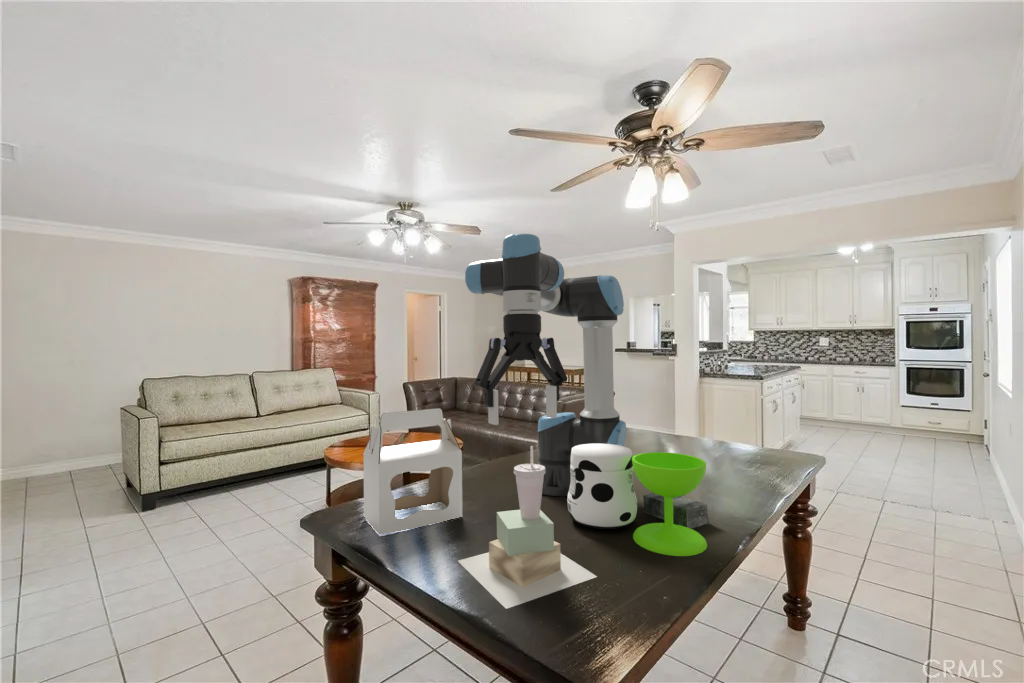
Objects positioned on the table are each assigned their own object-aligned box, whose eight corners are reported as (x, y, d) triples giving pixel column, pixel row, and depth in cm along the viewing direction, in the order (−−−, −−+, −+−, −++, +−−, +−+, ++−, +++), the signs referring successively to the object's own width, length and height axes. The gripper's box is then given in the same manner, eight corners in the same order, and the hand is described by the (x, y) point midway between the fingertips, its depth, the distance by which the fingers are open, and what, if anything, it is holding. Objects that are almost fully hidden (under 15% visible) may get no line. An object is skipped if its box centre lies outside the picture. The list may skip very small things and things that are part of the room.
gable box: (442, 503, 129) (441, 404, 129) (463, 517, 117) (462, 409, 118) (362, 520, 116) (362, 411, 117) (378, 538, 105) (377, 417, 106)
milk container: (650, 520, 114) (649, 449, 114) (612, 542, 102) (611, 462, 102) (593, 504, 126) (592, 439, 127) (553, 521, 114) (552, 450, 114)
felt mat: (457, 562, 93) (457, 560, 93) (538, 540, 103) (538, 538, 103) (506, 611, 76) (506, 608, 76) (597, 578, 86) (597, 576, 86)
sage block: (496, 536, 92) (496, 512, 93) (538, 531, 95) (538, 507, 95) (508, 556, 84) (508, 529, 84) (553, 549, 86) (553, 523, 86)
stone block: (667, 507, 125) (667, 488, 125) (712, 524, 112) (712, 503, 112) (643, 512, 120) (642, 492, 120) (687, 531, 108) (686, 509, 108)
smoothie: (536, 524, 86) (535, 450, 86) (507, 518, 89) (507, 447, 89) (551, 514, 91) (551, 444, 91) (524, 508, 95) (523, 441, 95)
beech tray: (489, 567, 90) (488, 542, 90) (526, 552, 96) (526, 528, 96) (522, 587, 82) (522, 559, 82) (560, 569, 89) (560, 543, 89)
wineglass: (647, 520, 114) (646, 449, 114) (715, 536, 104) (714, 458, 105) (621, 543, 101) (620, 462, 101) (696, 563, 91) (695, 474, 92)
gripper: (473, 310, 80) (475, 430, 80) (583, 313, 93) (584, 416, 93) (456, 313, 87) (458, 424, 87) (561, 315, 100) (562, 412, 99)
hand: (523, 420), depth 90 cm, fingers open, 13 cm apart
